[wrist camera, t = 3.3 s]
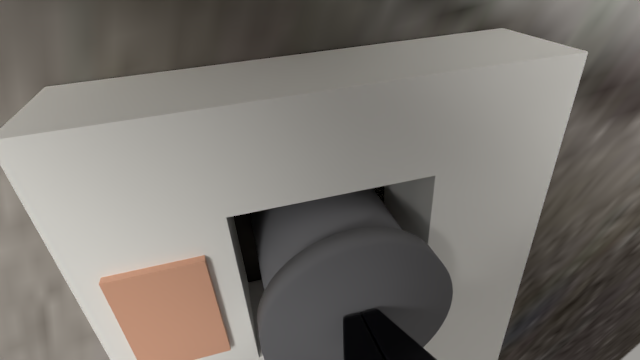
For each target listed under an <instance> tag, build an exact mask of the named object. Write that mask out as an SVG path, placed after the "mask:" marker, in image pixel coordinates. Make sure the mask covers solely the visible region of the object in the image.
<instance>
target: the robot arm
mask: <svg viewBox="0 0 640 360" xmlns="http://www.w3.org/2000/svg"><path fill="white" fill-rule="evenodd" d="M343 356H344V360H437V359H436V358H435V357H433V356H432V355H431V354H430V353H429V352H428V351H426V350H425V349H424V348H423V347H422V346H421V345H419V344H418V343H417V342H416V341H415V340H414V339H413V338H411V337H410V336H409V335H408V334H407V333H406V332H404V331H403V330H402V329H401V328H400V327H399V326H397V325H396V324H395V323H394V322H393V321H392V320H391V319H389V318H388V317H387V316H386V315H385V314H384V313H382V312H381V311H380V310H379V309H371V310H367V311H363V312H361V314H359V313H356V314H352V315H348V316H345V317H343Z"/></svg>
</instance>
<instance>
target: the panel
mask: <svg viewBox="0 0 640 360" xmlns="http://www.w3.org/2000/svg"><path fill="white" fill-rule="evenodd" d="M587 54H588V52H587V51H584V50H580V49H577V48H573V47H569V46H566V45H562V44H559V43H555V42H551V41H548V40H544V39H541V38H537V37H533V36H530V35H526V34H523V33H519V32H515V31H512V30H508V29H504V28H498V29H490V30H483V31H475V32H467V33H459V34H452V35H444V36H436V37H428V38H421V39H413V40H405V41H397V42H390V43H382V44H374V45H366V46H358V47H351V48H343V49H335V50H327V51H320V52H312V53H304V54H296V55H289V56H281V57H273V58H265V59H257V60H250V61H242V62H234V63H226V64H219V65H211V66H203V67H195V68H188V69H180V70H172V71H164V72H157V73H149V74H141V75H133V76H125V77H118V78H110V79H102V80H94V81H87V82H79V83H71V84H63V85H56V86H48V87H44V88H43V89H42V90H41V91H40V92H39V93H38V94H37V95H36V96H35V97H34V98H33V99H31V100H30V101H29V102H28V103H27V104H26V105H25V106H24V107H23V108H22V109H21V110H20V111H19V112H17V113H16V114H15V115H14V116H13V117H12V118H11V119H10V120H9V121H8V122H7V123H6V124H5V125H4V126H2V127H1V128H0V165H1V167H2V169H3V170H4V172H5V174H6V176H7V178H8V179H9V181H10V183H11V185H12V186H13V188H14V190H15V192H16V193H17V195H18V197H19V199H20V201H21V202H22V204H23V206H24V208H25V209H26V211H27V213H28V215H29V216H30V218H31V220H32V222H33V224H34V225H35V227H36V229H37V231H38V232H39V234H40V236H41V238H42V239H43V241H44V243H45V245H46V247H47V248H48V250H49V252H50V254H51V255H52V257H53V259H54V261H55V262H56V264H57V266H58V268H59V270H60V271H61V273H62V275H63V277H64V278H65V280H66V282H67V284H68V286H69V287H70V289H71V291H72V293H73V294H74V296H75V298H76V300H77V301H78V303H79V305H80V307H81V309H82V310H83V312H84V314H85V316H86V317H87V319H88V321H89V323H90V324H91V326H92V328H93V330H94V332H95V333H96V335H97V337H98V339H99V340H100V342H101V344H102V346H103V347H104V349H105V351H106V353H107V355H108V356H109V358H110V360H264V357H263V354H262V351H261V346H260V339H259V333H258V325H257V310H258V306H259V302H260V299H261V297H262V295H263V292H264V287H263V281H262V279H260V280H256V281H252V282H248V280H247V275H246V271H245V266H244V262H243V257H242V253H241V248H240V244H239V239H238V235H237V230H236V226H235V221H234V217H233V216H237V215H242V214H247V213H252V212H257V211H262V210H267V209H272V208H277V207H282V206H287V205H291V204H296V203H301V202H306V201H311V200H316V199H321V198H326V197H331V196H336V195H341V194H346V193H351V192H356V191H361V190H366V189H371V188H376V187H381V186H384V205H385V206H386V208H387V209H388V210H389V212H390V213H391V215H392V216H393V217H394V219H395V220H396V222H397V223H398V224H399V226H400V227H401V229H402V230H404V231H407V232H409V233H412V234H414V235H416V236H417V237H419V238H421V239H422V240H423V241H424V242H426V243H427V244H428V245H429V247H430V248H431V249H432V250H433V251H434V253H435V254H436V255H437V257H438V258H439V259H440V261H441V262H442V263H443V264H444V266H445V267H446V269H447V271H448V272H449V274H450V277H451V281H452V286H453V296H452V302H451V306H450V310H449V312H448V315H447V317H446V319H445V321H444V322H443V324H442V326H441V327H440V329H439V330H438V332H437V333H436V334H435V335H434V337H433V338H432V339H431V340H430V341H429V342H428V343H427V344H426V345H425V346H424V347H423V348H424V349H425V350H426V351H428V352H429V353H430V354H431V355H432V356H433V357H435V358H436V359H437V360H498V357H499V353H500V350H501V347H502V343H503V340H504V336H505V333H506V330H507V326H508V323H509V319H510V316H511V313H512V309H513V306H514V302H515V299H516V296H517V292H518V289H519V285H520V282H521V279H522V275H523V272H524V268H525V265H526V262H527V258H528V255H529V251H530V248H531V245H532V241H533V238H534V234H535V231H536V228H537V224H538V221H539V217H540V214H541V211H542V207H543V204H544V200H545V197H546V194H547V190H548V187H549V183H550V180H551V177H552V173H553V170H554V166H555V163H556V160H557V156H558V153H559V150H560V146H561V143H562V139H563V136H564V133H565V129H566V126H567V122H568V119H569V116H570V112H571V109H572V105H573V102H574V99H575V95H576V92H577V88H578V85H579V82H580V78H581V75H582V71H583V68H584V65H585V61H586V58H587Z"/></svg>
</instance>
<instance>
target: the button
mask: <svg viewBox="0 0 640 360" xmlns="http://www.w3.org/2000/svg"><path fill="white" fill-rule="evenodd" d="M251 222H252V229H253V234H254V239H255V244H256V250H257V255H258V260H259V266H260V271H261V276H262V281H263V287H264V292H263V295H262V297H261V299H260V302H259V306H258V310H257V325H258V333H259V339H260V346H261V351H262V354H263V357H264V360H344V356H343V317H345V316H348V315H352V314H356V313H359V314H361V312H363V311H367V310H371V309H379V310H380V311H381V312H382V313H384V314H385V315H386V316H387V317H388V318H389V319H391V320H392V321H393V322H394V323H395V324H396V325H397V326H399V327H400V328H401V329H402V330H403V331H404V332H406V333H407V334H408V335H409V336H410V337H411V338H413V339H414V340H415V341H416V342H417V343H418V344H419V345H421V346H422V347H424V346H425V345H426V344H427V343H428V342H429V341H430V340H431V339H432V338H433V337H434V335H435V334H436V333H437V332H438V330H439V329H440V327H441V326H442V324H443V322H444V321H445V319H446V317H447V315H448V312H449V310H450V306H451V302H452V296H453V286H452V281H451V277H450V274H449V272H448V271H447V269H446V267H445V266H444V264H443V263H442V262H441V261H440V259H439V258H438V257H437V255H436V254H435V253H434V251H433V250H432V249H431V248H430V247H429V245H428V244H427V243H426V242H424V241H423V240H422V239H421V238H419V237H417V236H416V235H414V234H412V233H409V232H407V231H404V230H402V229H401V227H400V226H399V224H398V223H397V222H396V220H395V219H394V217H393V216H392V215H391V213H390V212H389V210H388V209H387V208H386V206H385V205H384V203H383V202H382V201H381V199H380V198H379V196H378V195H377V194H376V192H375V191H374V189H373V188H371V189H366V190H361V191H356V192H351V193H346V194H341V195H336V196H331V197H326V198H321V199H316V200H311V201H306V202H301V203H296V204H291V205H287V206H282V207H277V208H272V209H267V210H262V211H257V212H252V213H251Z"/></svg>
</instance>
